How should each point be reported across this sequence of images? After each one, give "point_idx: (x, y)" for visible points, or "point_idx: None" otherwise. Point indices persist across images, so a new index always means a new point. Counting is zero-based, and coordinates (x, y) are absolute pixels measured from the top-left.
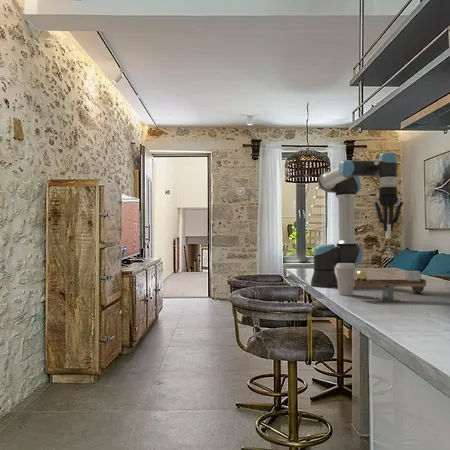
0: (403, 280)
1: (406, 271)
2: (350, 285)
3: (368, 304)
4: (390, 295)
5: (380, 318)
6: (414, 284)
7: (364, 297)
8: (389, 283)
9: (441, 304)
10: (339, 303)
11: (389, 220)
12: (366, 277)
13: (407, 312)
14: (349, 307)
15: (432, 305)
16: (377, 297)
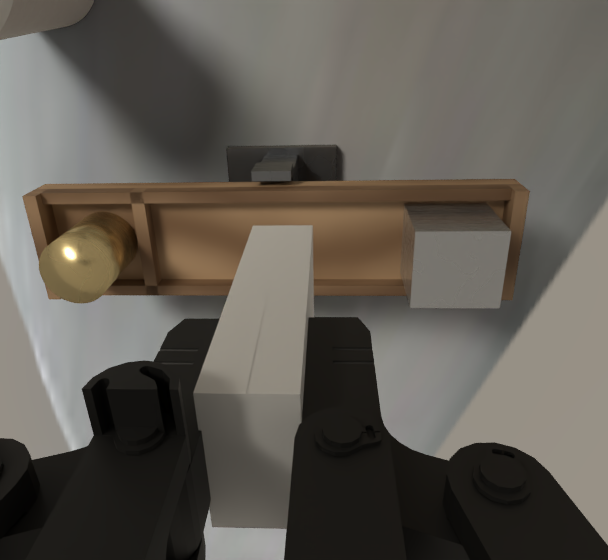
0: (399, 199)
1: (412, 272)
2: (48, 26)
3: (162, 330)
4: None
5: None
6: None
7: (167, 101)
8: None
9: (511, 313)
10: (30, 311)
11: (297, 540)
12: (122, 269)
13: None
14: (77, 398)
15: (452, 340)
16: (231, 176)
